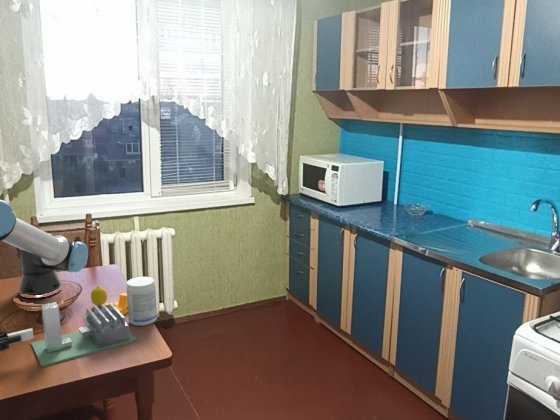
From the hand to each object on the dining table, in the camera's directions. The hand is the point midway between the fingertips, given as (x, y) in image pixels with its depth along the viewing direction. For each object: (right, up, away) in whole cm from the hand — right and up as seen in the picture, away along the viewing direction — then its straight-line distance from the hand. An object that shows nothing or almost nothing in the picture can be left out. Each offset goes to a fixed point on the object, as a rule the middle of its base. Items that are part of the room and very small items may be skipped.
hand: (32, 333), depth 145 cm
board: (+11, -6, +10) cm, 16 cm away
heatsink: (+16, -4, +13) cm, 21 cm away
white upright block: (+5, -6, +6) cm, 9 cm away
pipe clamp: (+15, -1, +28) cm, 32 cm away
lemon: (+6, +1, +37) cm, 37 cm away
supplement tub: (+25, -2, +26) cm, 37 cm away
